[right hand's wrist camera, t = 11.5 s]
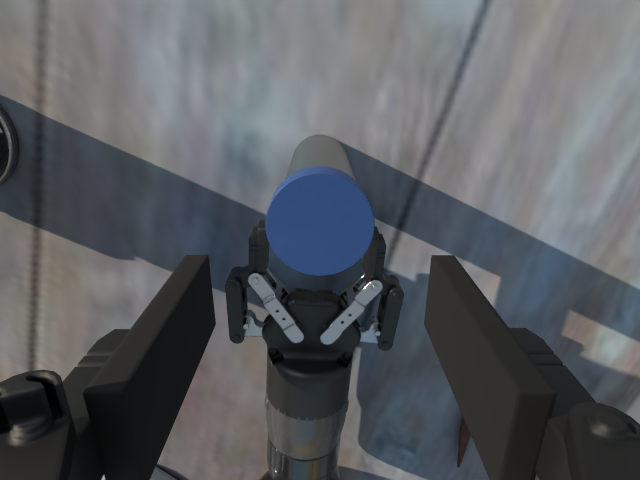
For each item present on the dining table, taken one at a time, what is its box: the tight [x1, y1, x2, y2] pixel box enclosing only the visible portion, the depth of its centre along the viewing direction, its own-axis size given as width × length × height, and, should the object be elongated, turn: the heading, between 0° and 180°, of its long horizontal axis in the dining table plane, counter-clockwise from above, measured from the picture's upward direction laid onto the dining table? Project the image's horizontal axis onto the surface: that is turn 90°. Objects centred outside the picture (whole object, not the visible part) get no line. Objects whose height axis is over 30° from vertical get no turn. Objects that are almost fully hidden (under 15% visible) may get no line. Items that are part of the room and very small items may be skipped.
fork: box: [457, 418, 470, 467], centre depth 45 cm, size 3×16×2 cm, turn 178°
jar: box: [285, 135, 355, 179], centre depth 28 cm, size 5×5×16 cm
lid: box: [266, 166, 374, 276], centre depth 21 cm, size 5×5×2 cm
